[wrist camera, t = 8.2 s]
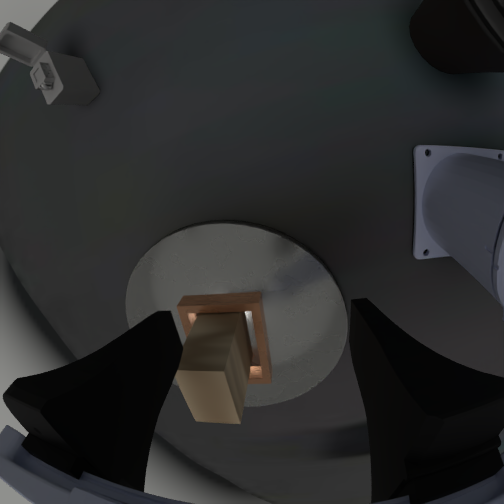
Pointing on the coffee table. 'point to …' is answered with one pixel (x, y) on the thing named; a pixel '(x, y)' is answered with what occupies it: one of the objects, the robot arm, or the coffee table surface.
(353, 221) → the coffee table surface
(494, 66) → the coffee cup
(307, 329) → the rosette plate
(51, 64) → the lighter
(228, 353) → the wood grain block
